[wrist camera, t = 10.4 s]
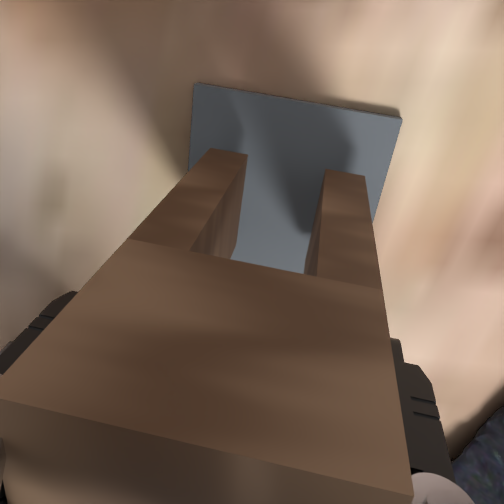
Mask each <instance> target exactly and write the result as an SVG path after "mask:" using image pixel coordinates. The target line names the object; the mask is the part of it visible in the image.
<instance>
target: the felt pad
mask: <svg viewBox="0 0 504 504" xmlns="http://www.w3.org/2000/svg"><path fill="white" fill-rule="evenodd" d="M401 124H402V118H401V117H396V116H390V115H384V114H378V113H372V112H366V111H361V110H355V109H349V108H343V107H337V106H331V105H325V104H320V103H314V102H308V101H302V100H296V99H290V98H284V97H279V96H273V95H267V94H261V93H255V92H249V91H243V90H238V89H232V88H226V87H220V86H214V85H208V84H202V83H195V84H194V91H193V106H192V120H191V135H190V150H189V165H188V172H189V170H190V169H191V168H192V167H193V166H194V165H195V164H196V163H197V162H198V161H199V159H200V158H201V157H202V156H203V155H204V154H205V153H206V152H207V151H208V150H209V149H210V148H215V149H220V150H226V151H231V152H237V153H242V154H248V159H247V167H246V175H245V182H244V190H243V197H242V205H241V212H240V220H239V227H238V235H237V242H236V247H235V249H234V251H233V254H232V256H231V258H230V259H232V260H237V261H242V262H247V263H252V264H257V265H262V266H267V267H272V268H276V269H281V270H286V271H291V272H296V273H301V274H304V267H305V259H306V254H307V250H308V245H309V241H310V236H311V232H312V227H313V223H314V218H315V214H316V209H317V205H318V200H319V196H320V191H321V186H322V182H323V177H324V173H325V169H330V170H336V171H341V172H347V173H352V174H358V175H363V176H365V180H366V186H367V193H368V199H369V206H370V212H371V218H372V223H373V220H374V216H375V213H376V209H377V206H378V202H379V199H380V196H381V192H382V189H383V185H384V182H385V178H386V175H387V172H388V168H389V165H390V161H391V158H392V154H393V151H394V148H395V144H396V141H397V137H398V134H399V130H400V127H401Z"/></svg>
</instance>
